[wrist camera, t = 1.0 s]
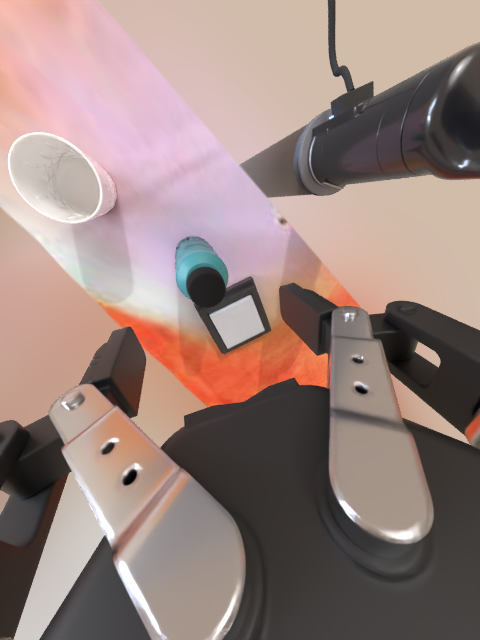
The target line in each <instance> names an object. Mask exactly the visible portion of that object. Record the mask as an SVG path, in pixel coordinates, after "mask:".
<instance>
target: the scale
mask: <svg viewBox="0 0 480 640" xmlns="http://www.w3.org/2000/svg"><path fill="white" fill-rule="evenodd" d="M249 294H250V295H251V296H252V298H253V301H254V304H255V306H256V309H257V311H258V314H259V317H260V319H261V322H262V324H263V327H264V329H265V331H263V332H261V333H259V334H257V335H255V336H253V337H251V338H249V339H247V340H245V341H243V342H241V343H239V344H237V345H235V346H233V347H231V348H229V349H228V348H227V347H226V345H225V343H224V341H223V339H222V338H221V336H220V334H219V332H218V330H217V329H216V327H215V325H214V323H213V321H212V319H211V318H210V315H209V314H210V313H212V312H214V311H216V310H218V309H220V308H222V307H224V306H226V305H229V304H231V303H233V302H235V301H237V300H239V299H241V298H243V297H245V296H247V295H249ZM194 306H195V308H196V310H197V311H198V313H199V315H200V317H201V318H202V320H203V322H204V323H205V325H206V327H207V329H208V330H209V332H210V334H211V335H212V337H213V339H214V341H215V342H216V344H217V346H218V347H219V349H220V351H221V353H222V354H226V353H228V352H229V351H231V350H233V349H236V348H238V347H240V346H242V345H244V344H246V343H248V342H250V341H252V340H254V339H256V338H258V337H260V336H262V335H264V334H266V333H268V332H270V331H271V328H270V325H269V322H268V319H267V317H266V314H265V311H264V308H263V306H262V303H261V300H260V297H259V294H258V292H257V289H256V286H255V283H254V281H253V278H252V277H248V278H246V279H244V280H242V281H240V282H238V283H236V284H234V285H232V286H230V287H228V288H226V292H225V296H224V298H223V300H222V301H221V302H220V303H219V304H218V305H216V306H214V307H210V308H204V307H200V306H198V305H196V304H194Z"/></svg>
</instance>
